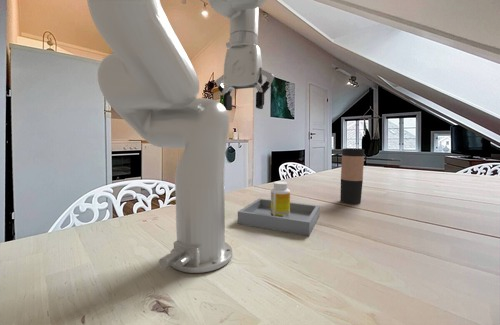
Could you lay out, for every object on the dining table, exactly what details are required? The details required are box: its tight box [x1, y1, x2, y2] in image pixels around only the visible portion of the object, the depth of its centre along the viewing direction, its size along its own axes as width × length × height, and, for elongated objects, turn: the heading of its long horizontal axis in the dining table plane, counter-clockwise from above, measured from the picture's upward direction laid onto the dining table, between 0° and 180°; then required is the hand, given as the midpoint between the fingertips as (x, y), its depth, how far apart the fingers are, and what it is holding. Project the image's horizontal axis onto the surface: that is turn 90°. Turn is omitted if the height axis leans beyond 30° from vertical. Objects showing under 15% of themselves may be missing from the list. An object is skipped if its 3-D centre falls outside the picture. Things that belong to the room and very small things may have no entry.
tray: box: [237, 198, 321, 237], centre depth 72 cm, size 16×20×4 cm
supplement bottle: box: [270, 180, 291, 218], centre depth 71 cm, size 6×6×10 cm
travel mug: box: [339, 147, 365, 205], centre depth 92 cm, size 8×8×20 cm
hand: (243, 109), depth 67 cm, fingers open, 9 cm apart
